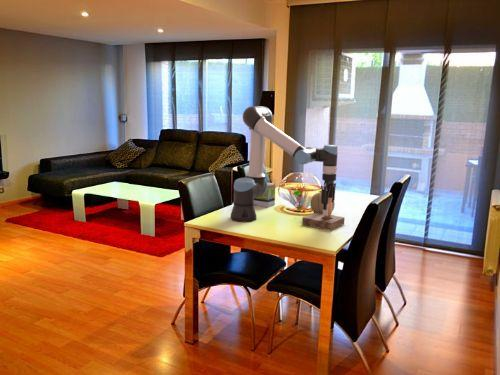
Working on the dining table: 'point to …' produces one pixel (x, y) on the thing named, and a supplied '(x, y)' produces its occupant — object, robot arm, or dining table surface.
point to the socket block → (323, 221)
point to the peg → (329, 209)
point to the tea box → (266, 197)
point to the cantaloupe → (318, 203)
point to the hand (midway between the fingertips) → (327, 214)
